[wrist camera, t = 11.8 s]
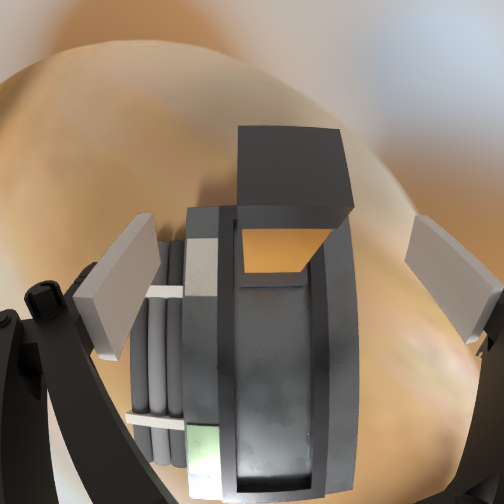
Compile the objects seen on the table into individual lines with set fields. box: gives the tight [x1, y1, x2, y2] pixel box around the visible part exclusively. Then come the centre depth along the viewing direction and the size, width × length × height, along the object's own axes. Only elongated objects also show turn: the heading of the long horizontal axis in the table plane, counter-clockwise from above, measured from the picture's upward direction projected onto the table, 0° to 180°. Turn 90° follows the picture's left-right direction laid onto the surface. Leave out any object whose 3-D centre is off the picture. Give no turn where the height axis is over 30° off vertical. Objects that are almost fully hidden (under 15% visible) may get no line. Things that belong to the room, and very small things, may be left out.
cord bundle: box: [125, 240, 187, 468], centre depth 20 cm, size 18×5×2 cm, turn 1°
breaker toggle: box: [237, 126, 354, 287], centre depth 15 cm, size 4×4×11 cm
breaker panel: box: [182, 206, 359, 503], centre depth 19 cm, size 22×12×4 cm, turn 1°
